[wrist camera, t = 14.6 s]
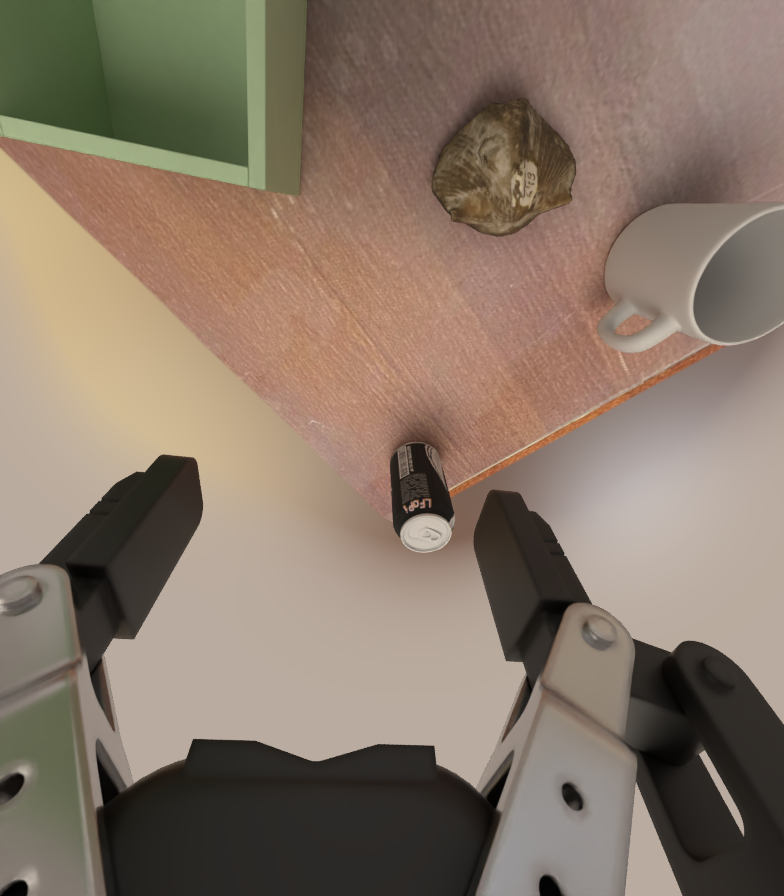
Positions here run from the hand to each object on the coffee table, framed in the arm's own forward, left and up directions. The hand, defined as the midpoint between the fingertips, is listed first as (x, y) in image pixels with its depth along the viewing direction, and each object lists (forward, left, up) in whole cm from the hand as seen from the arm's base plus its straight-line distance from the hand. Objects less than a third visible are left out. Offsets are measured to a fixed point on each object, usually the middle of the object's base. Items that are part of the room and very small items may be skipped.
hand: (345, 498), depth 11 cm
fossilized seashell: (+9, +11, -28) cm, 31 cm away
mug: (+23, +6, -28) cm, 37 cm away
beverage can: (+8, -16, -28) cm, 33 cm away
